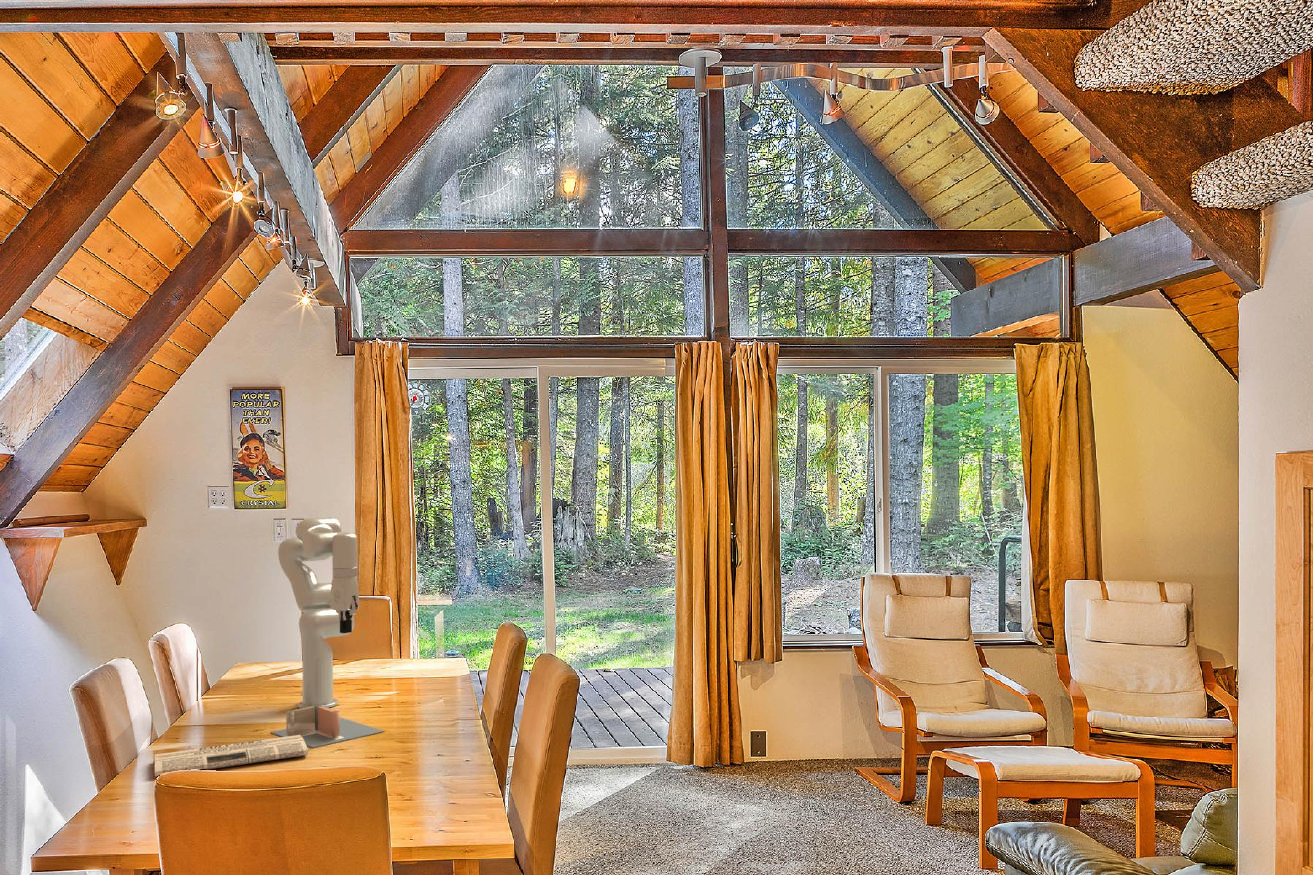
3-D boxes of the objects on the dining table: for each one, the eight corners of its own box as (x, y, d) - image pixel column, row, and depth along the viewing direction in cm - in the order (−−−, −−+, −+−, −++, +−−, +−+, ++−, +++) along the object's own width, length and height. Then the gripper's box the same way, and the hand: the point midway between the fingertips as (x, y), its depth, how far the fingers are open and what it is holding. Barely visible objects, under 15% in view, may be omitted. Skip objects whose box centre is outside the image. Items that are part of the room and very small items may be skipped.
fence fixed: (286, 737, 290) (285, 711, 290) (312, 732, 296) (311, 706, 296) (289, 738, 289) (289, 712, 289) (315, 733, 294) (315, 707, 295)
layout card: (267, 733, 296) (267, 732, 296) (340, 718, 313) (340, 717, 313) (309, 749, 278) (309, 747, 278) (384, 732, 295) (384, 730, 295)
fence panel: (313, 730, 296) (313, 706, 297) (320, 728, 298) (319, 704, 298) (334, 737, 287) (334, 713, 287) (340, 736, 288) (340, 711, 289)
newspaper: (154, 779, 253) (154, 768, 253) (154, 760, 270) (154, 750, 270) (307, 757, 269) (307, 746, 269) (298, 740, 286) (298, 730, 287)
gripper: (322, 573, 315) (322, 632, 314) (346, 575, 304) (347, 636, 304) (344, 571, 320) (344, 628, 319) (368, 573, 310) (369, 633, 309)
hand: (345, 632), depth 311 cm, fingers closed
